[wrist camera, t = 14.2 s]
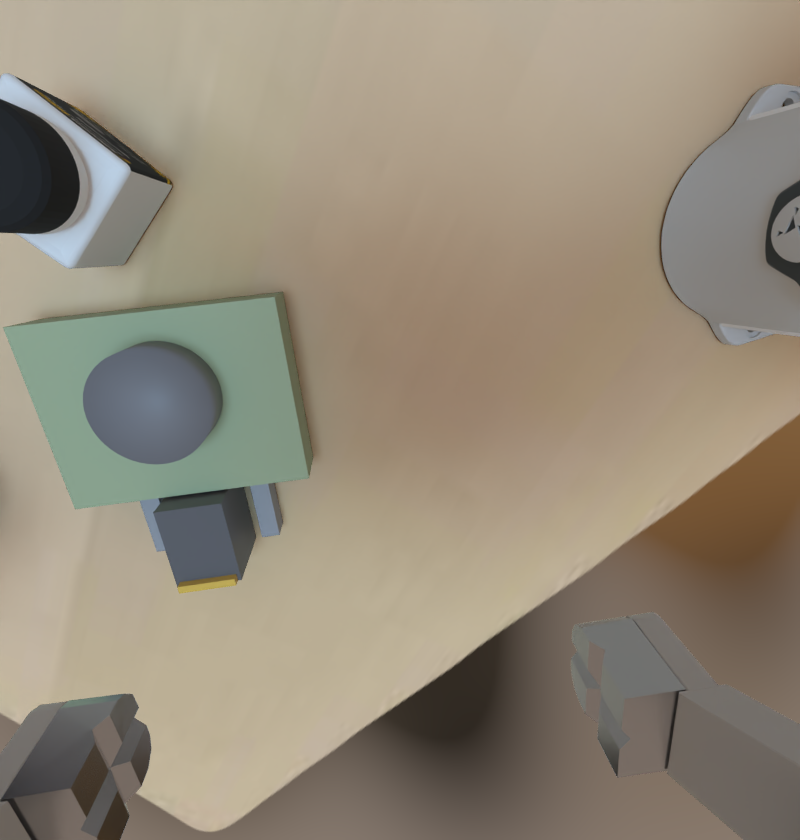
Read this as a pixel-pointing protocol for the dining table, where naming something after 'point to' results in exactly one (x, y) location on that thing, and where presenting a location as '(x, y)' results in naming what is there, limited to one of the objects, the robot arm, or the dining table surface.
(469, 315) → the dining table surface
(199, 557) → the grey block yellow strip
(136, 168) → the medicine bottle
